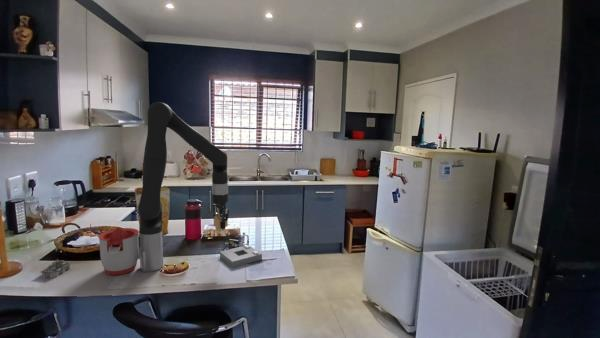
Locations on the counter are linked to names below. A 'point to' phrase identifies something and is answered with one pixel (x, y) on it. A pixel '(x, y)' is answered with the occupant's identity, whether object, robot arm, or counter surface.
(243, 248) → the socket plate
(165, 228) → the pancake mix bag
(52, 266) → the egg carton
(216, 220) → the plug
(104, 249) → the citrus juicer
